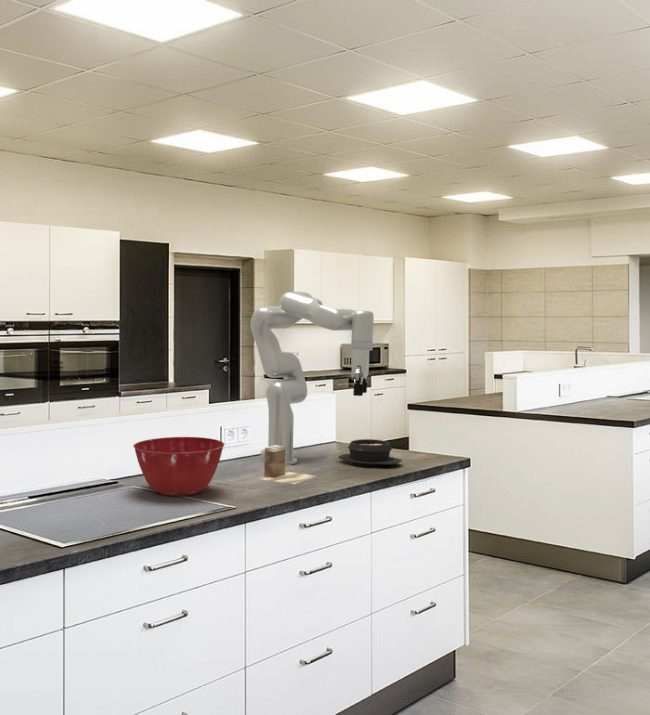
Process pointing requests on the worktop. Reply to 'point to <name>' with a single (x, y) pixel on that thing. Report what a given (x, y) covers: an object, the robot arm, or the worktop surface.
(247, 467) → the worktop surface
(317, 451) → the worktop surface
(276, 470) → the walnut block
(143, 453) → the mixing bowl
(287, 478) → the oak board
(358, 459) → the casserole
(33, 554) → the worktop surface
